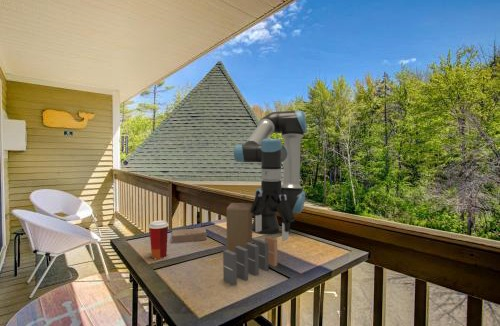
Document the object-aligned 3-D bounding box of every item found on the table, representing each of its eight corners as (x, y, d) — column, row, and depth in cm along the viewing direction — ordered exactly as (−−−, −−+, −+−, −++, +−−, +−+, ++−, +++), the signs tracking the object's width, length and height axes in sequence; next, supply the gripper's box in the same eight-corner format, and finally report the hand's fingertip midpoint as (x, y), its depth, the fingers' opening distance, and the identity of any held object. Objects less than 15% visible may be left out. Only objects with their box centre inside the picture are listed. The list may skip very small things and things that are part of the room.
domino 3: (248, 269, 95) (248, 242, 94) (258, 274, 91) (258, 245, 91) (245, 270, 94) (245, 243, 93) (255, 275, 90) (255, 247, 90)
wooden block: (252, 247, 117) (252, 202, 116) (250, 256, 107) (250, 207, 106) (230, 246, 118) (230, 202, 117) (226, 255, 108) (226, 207, 107)
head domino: (274, 266, 97) (274, 240, 96) (264, 262, 100) (264, 237, 100) (277, 265, 98) (277, 239, 98) (267, 261, 102) (267, 236, 101)
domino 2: (238, 273, 91) (238, 245, 91) (248, 278, 88) (248, 249, 87) (234, 275, 90) (234, 246, 90) (244, 280, 87) (244, 250, 86)
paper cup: (167, 251, 111) (166, 219, 111) (170, 258, 105) (170, 223, 104) (147, 254, 108) (147, 221, 107) (149, 261, 101) (149, 226, 100)
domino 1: (227, 278, 88) (227, 249, 87) (236, 283, 84) (236, 253, 84) (223, 280, 87) (223, 250, 86) (232, 285, 83) (232, 255, 83)
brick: (171, 244, 121) (171, 234, 121) (171, 238, 129) (171, 229, 129) (207, 241, 126) (207, 231, 125) (205, 235, 134) (205, 226, 133)
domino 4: (258, 265, 98) (258, 239, 98) (268, 269, 95) (268, 242, 94) (255, 266, 97) (255, 240, 97) (265, 271, 93) (265, 243, 93)
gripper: (241, 178, 104) (242, 230, 106) (291, 184, 86) (291, 247, 87) (255, 176, 109) (255, 226, 111) (305, 182, 91) (304, 241, 93)
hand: (271, 235), depth 99 cm, fingers open, 13 cm apart
